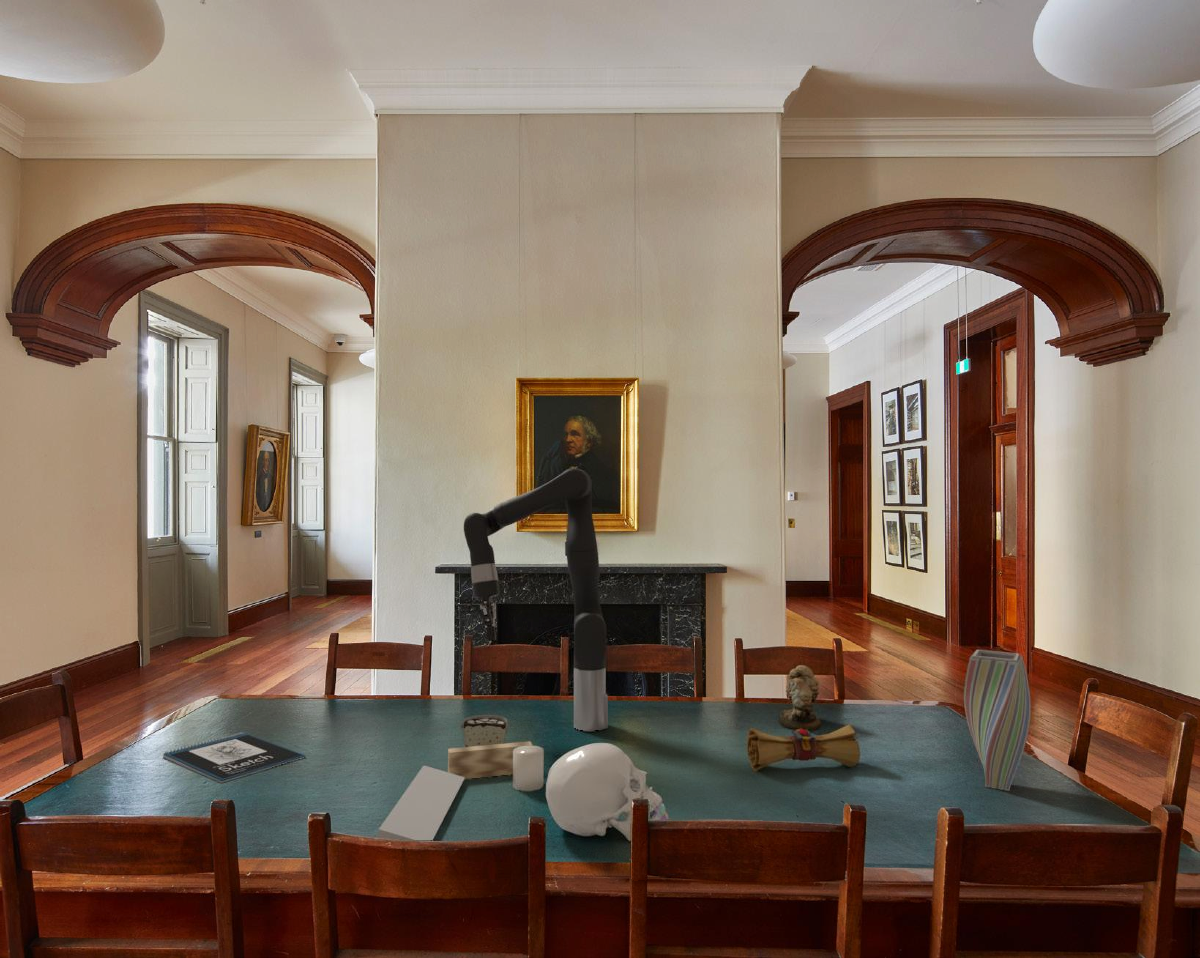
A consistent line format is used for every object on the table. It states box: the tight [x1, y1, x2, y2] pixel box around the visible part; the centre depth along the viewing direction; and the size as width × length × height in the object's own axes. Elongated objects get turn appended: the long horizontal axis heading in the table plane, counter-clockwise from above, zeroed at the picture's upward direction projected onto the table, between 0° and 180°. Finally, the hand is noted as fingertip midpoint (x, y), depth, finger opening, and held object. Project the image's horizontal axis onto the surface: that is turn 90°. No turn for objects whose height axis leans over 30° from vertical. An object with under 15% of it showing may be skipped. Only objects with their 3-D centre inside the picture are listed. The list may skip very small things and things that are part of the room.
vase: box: [963, 649, 1032, 792], centre depth 174 cm, size 14×14×30 cm
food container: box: [460, 714, 510, 747], centre depth 192 cm, size 12×6×10 cm, turn 86°
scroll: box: [746, 724, 861, 772], centre depth 185 cm, size 27×10×10 cm, turn 97°
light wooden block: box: [447, 740, 534, 781], centre depth 180 cm, size 20×5×6 cm, turn 107°
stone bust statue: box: [778, 664, 821, 732], centre depth 223 cm, size 18×12×17 cm, turn 175°
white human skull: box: [545, 742, 670, 842], centre depth 149 cm, size 16×20×22 cm
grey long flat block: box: [376, 765, 465, 841], centre depth 156 cm, size 34×5×10 cm
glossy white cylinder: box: [512, 745, 545, 792], centre depth 173 cm, size 7×7×8 cm
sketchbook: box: [162, 731, 307, 784], centre depth 191 cm, size 22×30×2 cm
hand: (492, 640), depth 217 cm, fingers closed
